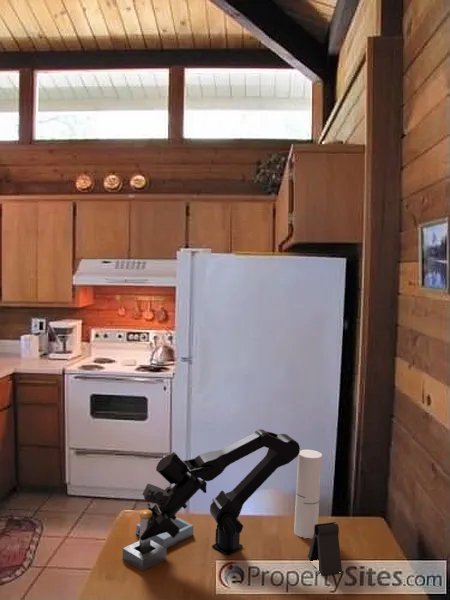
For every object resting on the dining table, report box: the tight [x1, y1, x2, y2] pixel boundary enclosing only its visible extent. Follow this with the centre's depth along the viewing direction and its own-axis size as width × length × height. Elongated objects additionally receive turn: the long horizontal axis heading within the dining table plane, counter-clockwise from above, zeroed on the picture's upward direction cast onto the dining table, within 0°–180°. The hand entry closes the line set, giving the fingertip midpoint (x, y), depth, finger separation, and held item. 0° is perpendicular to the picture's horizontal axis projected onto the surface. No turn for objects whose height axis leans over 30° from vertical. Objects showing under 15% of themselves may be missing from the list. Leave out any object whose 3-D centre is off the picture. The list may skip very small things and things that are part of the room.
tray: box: [135, 517, 194, 549], centre depth 168 cm, size 12×12×3 cm
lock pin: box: [138, 509, 152, 554], centre depth 154 cm, size 3×3×13 cm
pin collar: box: [122, 540, 167, 571], centre depth 155 cm, size 8×8×3 cm
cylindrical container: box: [293, 449, 323, 539], centre depth 172 cm, size 7×7×25 cm
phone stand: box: [307, 521, 343, 577], centre depth 155 cm, size 9×6×12 cm, turn 17°
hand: (140, 536), depth 154 cm, fingers closed on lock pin, 3 cm apart
